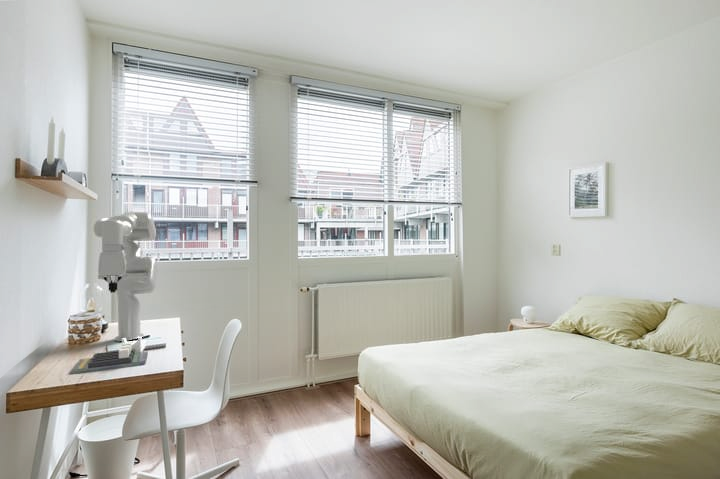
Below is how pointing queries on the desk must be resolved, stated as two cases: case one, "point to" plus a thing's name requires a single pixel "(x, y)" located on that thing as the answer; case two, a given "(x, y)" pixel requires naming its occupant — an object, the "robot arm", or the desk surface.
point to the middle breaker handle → (126, 347)
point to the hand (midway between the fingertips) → (113, 292)
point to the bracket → (137, 344)
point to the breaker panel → (109, 361)
